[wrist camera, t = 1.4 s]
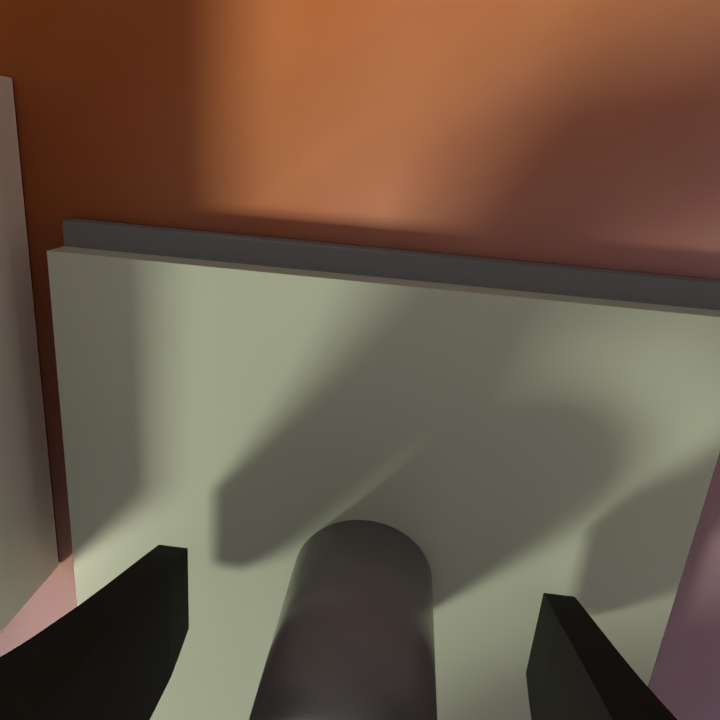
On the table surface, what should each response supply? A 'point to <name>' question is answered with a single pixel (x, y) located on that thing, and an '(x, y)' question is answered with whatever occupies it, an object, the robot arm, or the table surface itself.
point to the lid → (378, 474)
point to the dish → (20, 397)
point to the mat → (395, 263)
